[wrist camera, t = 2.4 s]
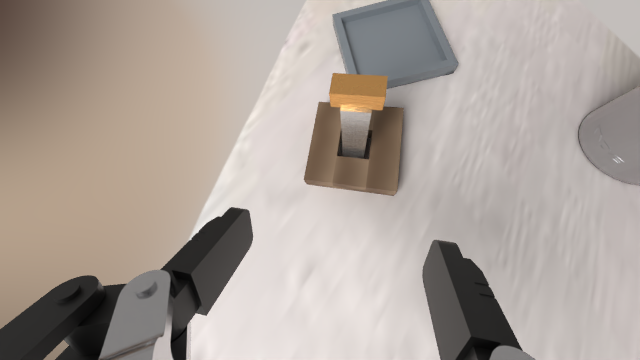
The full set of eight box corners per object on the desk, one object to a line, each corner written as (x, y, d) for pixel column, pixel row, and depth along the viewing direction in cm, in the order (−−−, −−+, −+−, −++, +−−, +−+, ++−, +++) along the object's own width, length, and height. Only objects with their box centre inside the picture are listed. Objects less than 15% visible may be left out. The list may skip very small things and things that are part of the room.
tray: (420, 2, 33) (424, -10, 31) (452, 73, 29) (458, 64, 27) (333, 24, 33) (332, 14, 32) (352, 96, 29) (352, 88, 28)
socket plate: (399, 117, 28) (403, 107, 26) (393, 195, 25) (397, 191, 23) (320, 111, 29) (318, 101, 27) (307, 184, 27) (303, 179, 25)
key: (372, 143, 27) (388, 72, 16) (369, 161, 27) (385, 100, 16) (339, 139, 28) (333, 69, 17) (336, 157, 27) (328, 97, 16)
